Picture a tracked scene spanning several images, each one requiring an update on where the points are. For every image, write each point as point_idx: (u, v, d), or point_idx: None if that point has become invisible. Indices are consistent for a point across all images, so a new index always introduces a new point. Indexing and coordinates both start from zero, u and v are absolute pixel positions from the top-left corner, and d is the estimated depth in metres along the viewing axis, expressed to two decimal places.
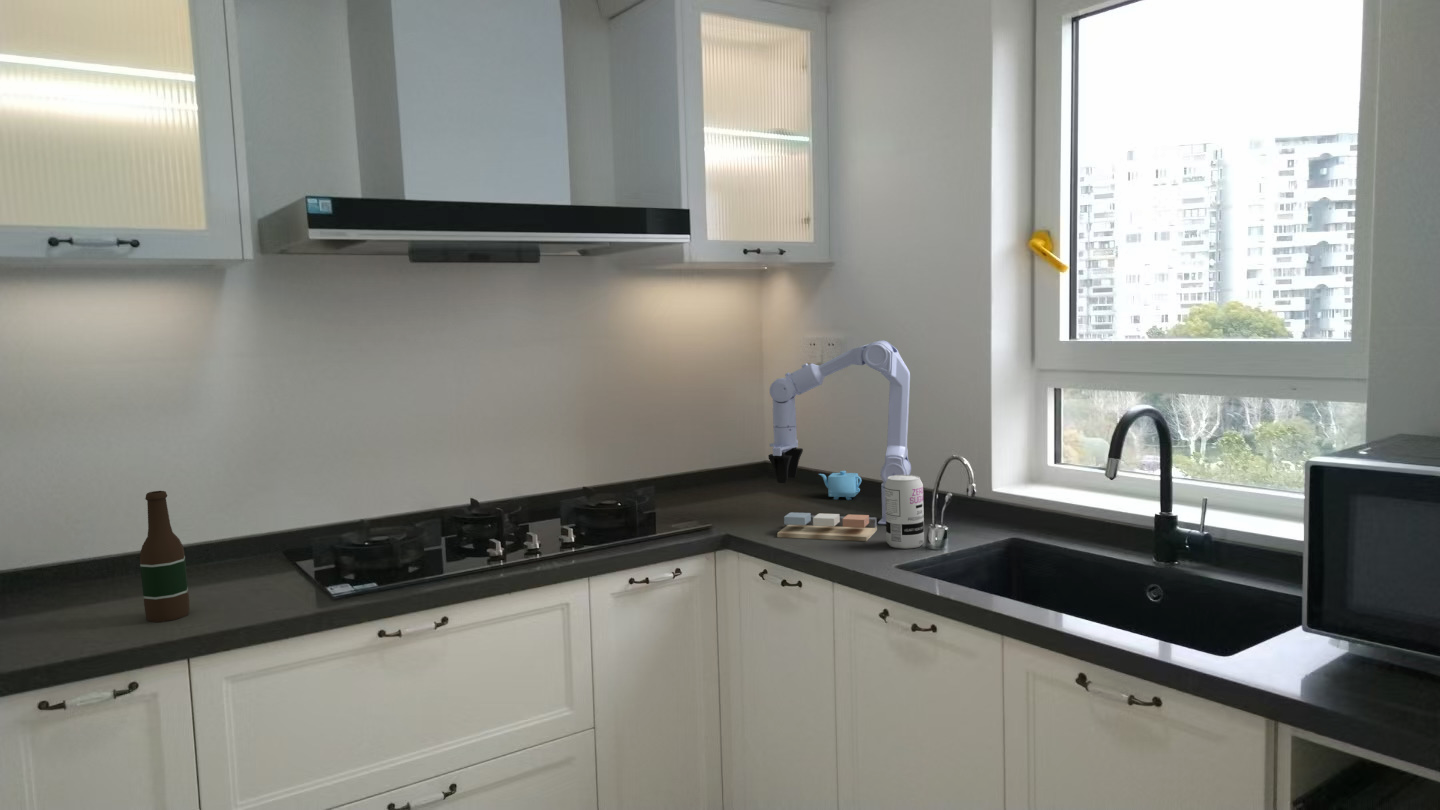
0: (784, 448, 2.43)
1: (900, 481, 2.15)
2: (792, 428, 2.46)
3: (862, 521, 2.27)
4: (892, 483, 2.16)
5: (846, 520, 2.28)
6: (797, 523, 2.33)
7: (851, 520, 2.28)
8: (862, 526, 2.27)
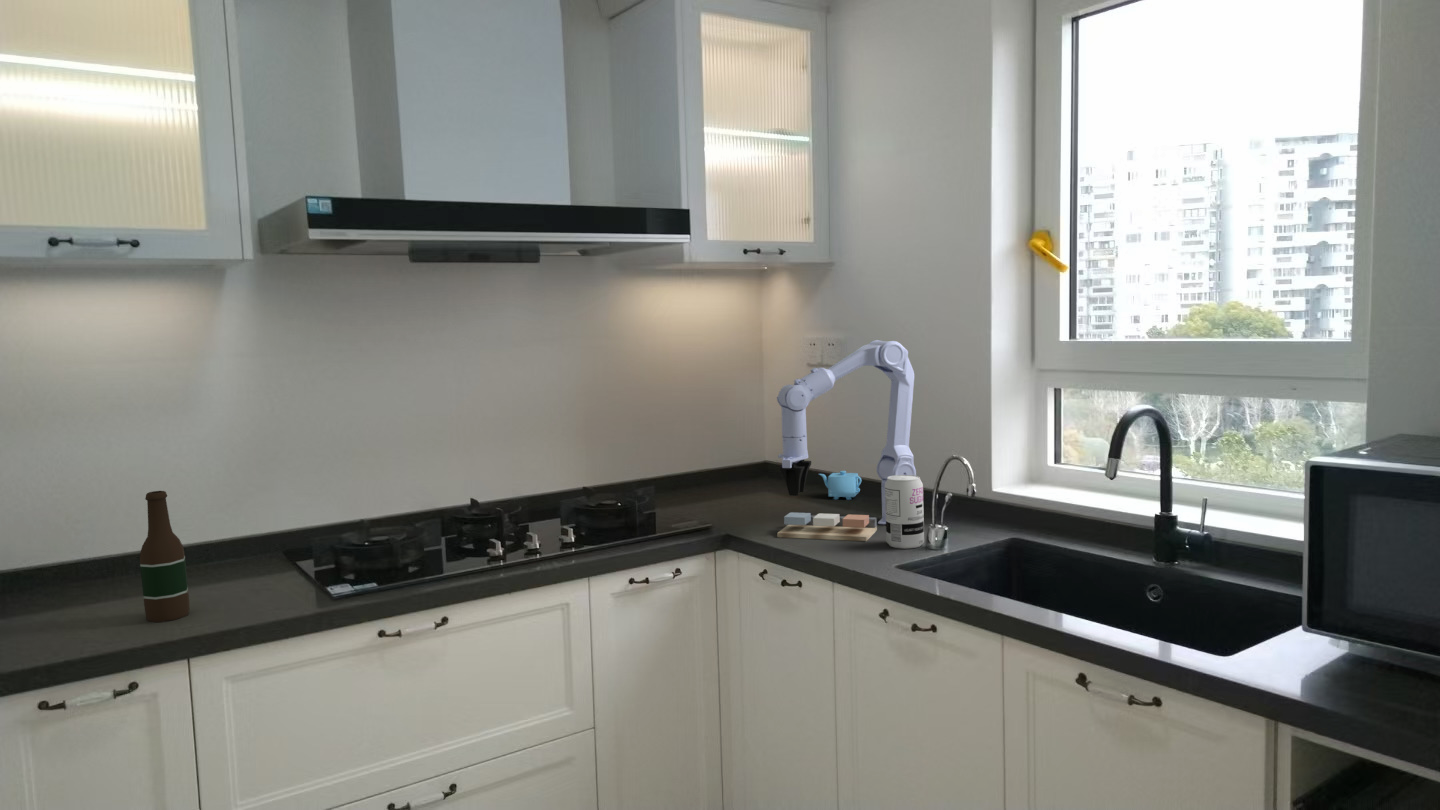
0: (794, 460, 2.28)
1: (900, 481, 2.15)
2: (802, 438, 2.31)
3: (862, 521, 2.27)
4: (891, 483, 2.16)
5: (846, 520, 2.28)
6: (797, 523, 2.33)
7: (851, 520, 2.28)
8: (862, 526, 2.27)
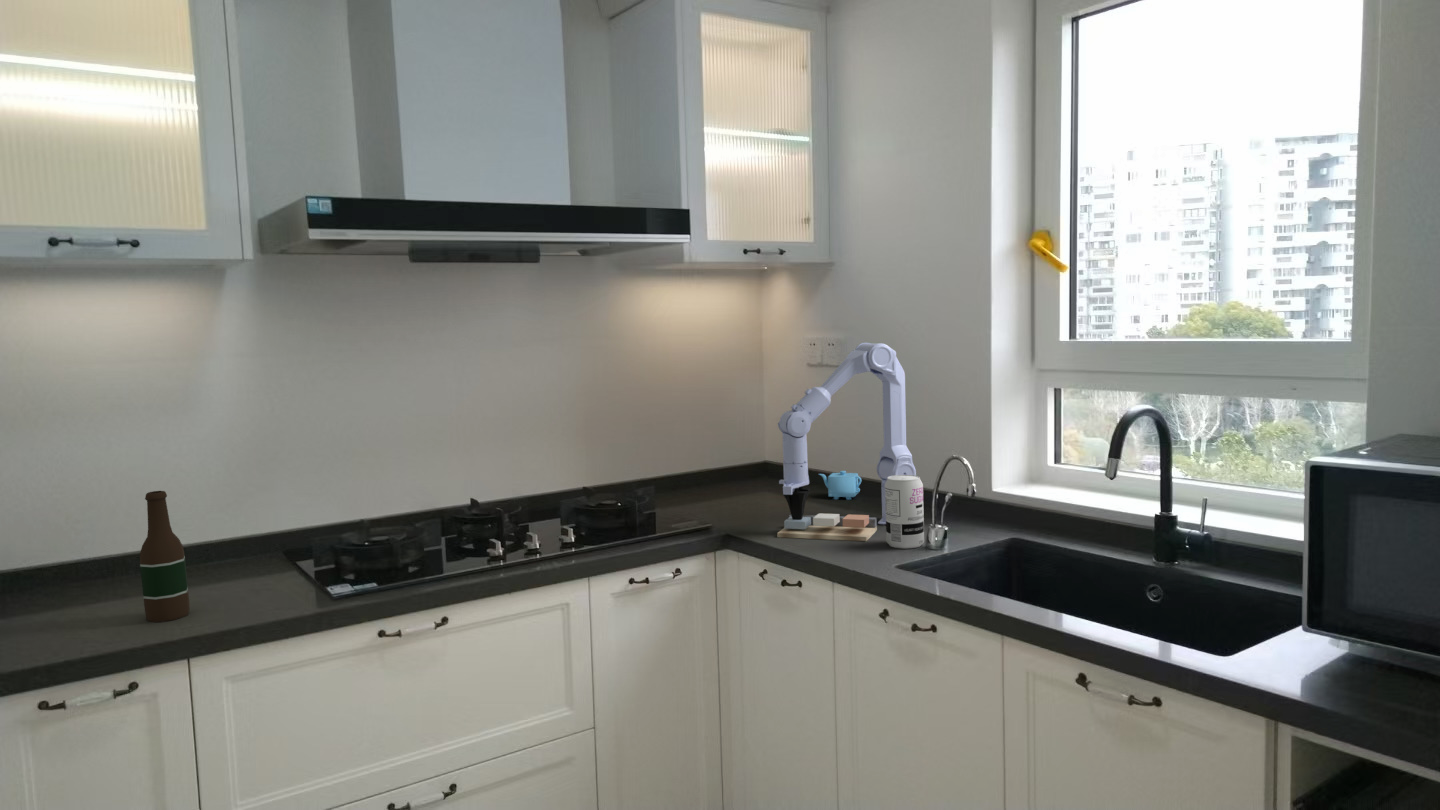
0: (795, 486, 2.29)
1: (900, 481, 2.15)
2: (803, 464, 2.31)
3: (862, 521, 2.27)
4: (892, 483, 2.16)
5: (846, 520, 2.28)
6: (797, 527, 2.33)
7: (851, 520, 2.28)
8: (862, 526, 2.27)
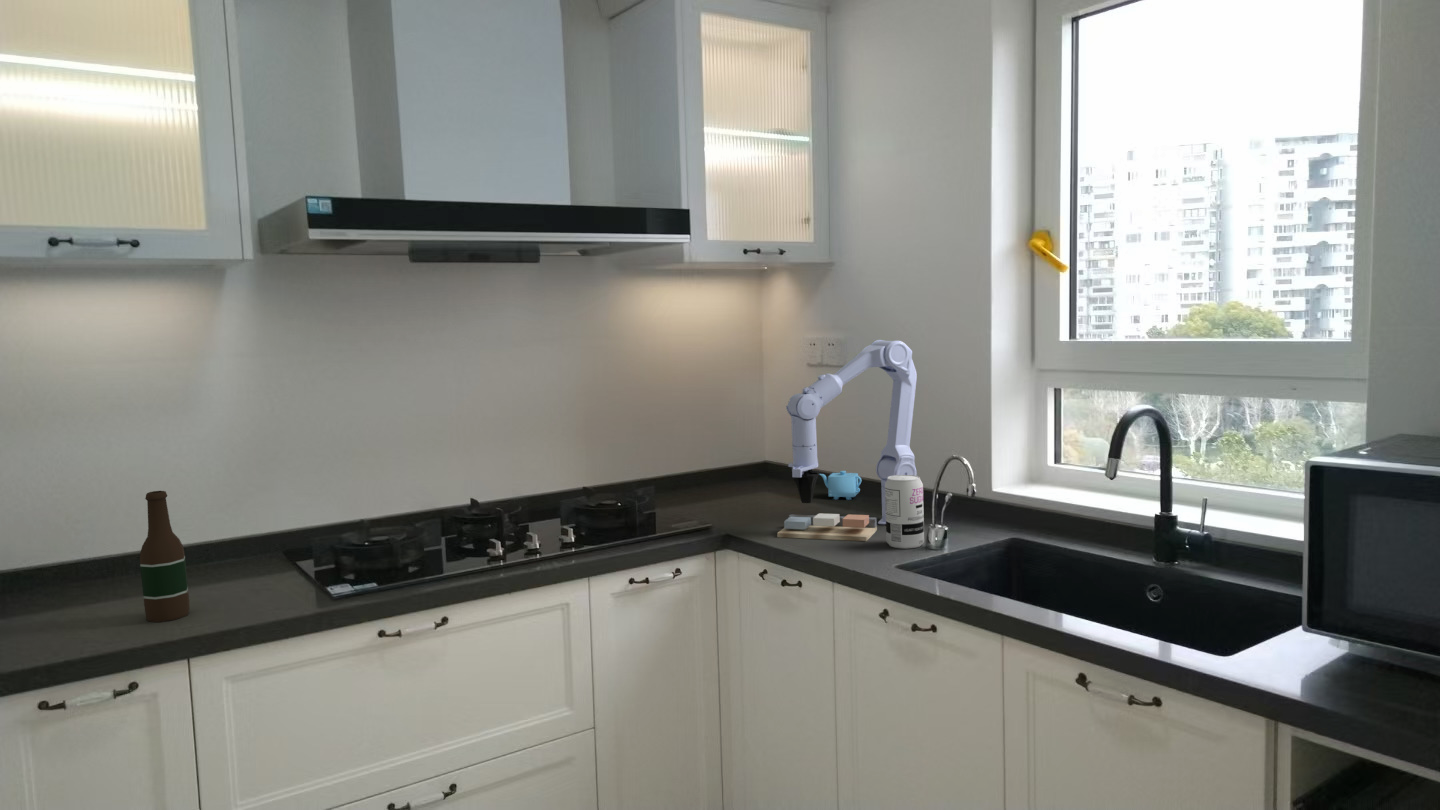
0: (804, 469, 2.28)
1: (900, 481, 2.15)
2: (812, 447, 2.30)
3: (862, 521, 2.27)
4: (892, 483, 2.16)
5: (846, 520, 2.28)
6: (797, 527, 2.33)
7: (851, 520, 2.28)
8: (862, 526, 2.27)
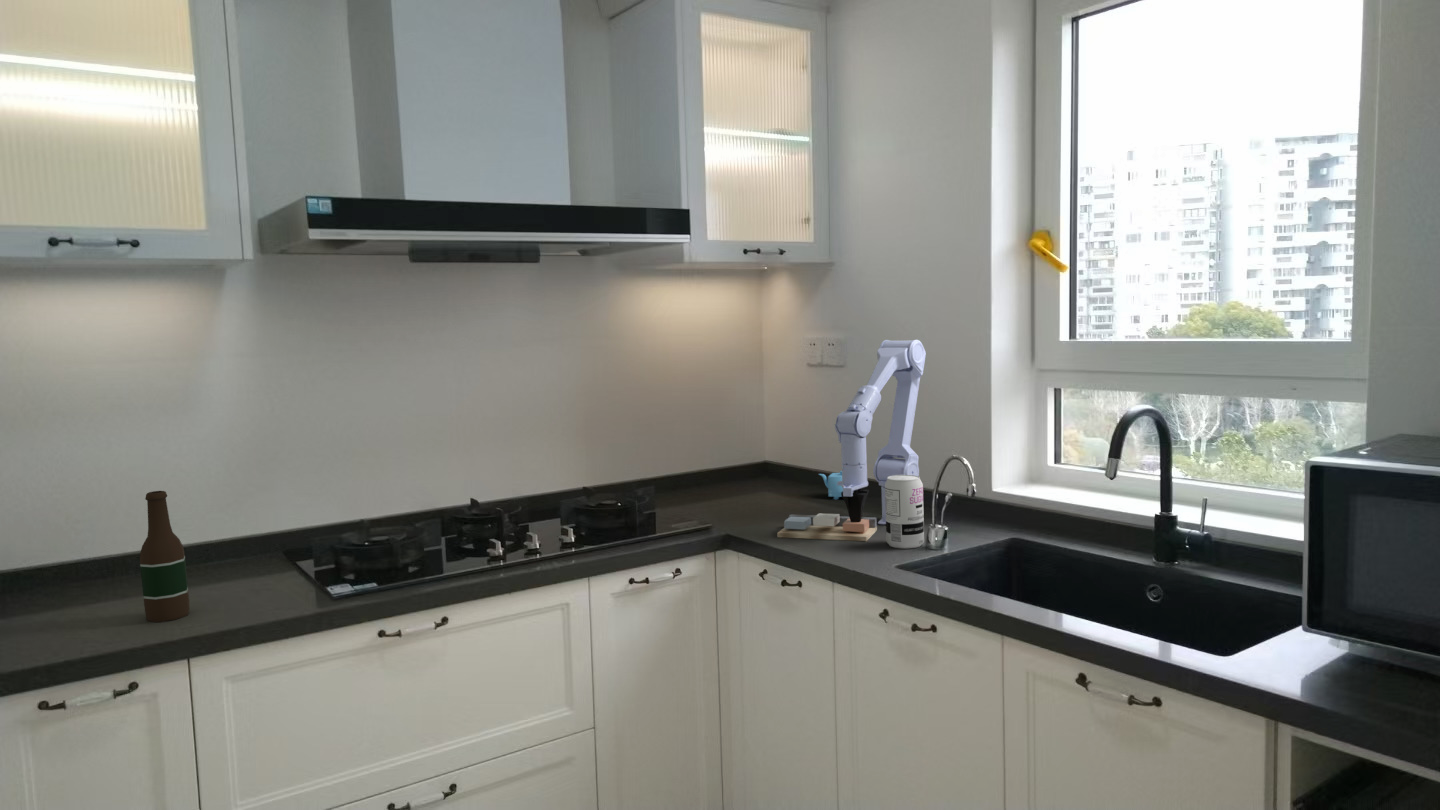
0: (855, 488, 2.24)
1: (900, 481, 2.15)
2: (863, 465, 2.26)
3: (862, 525, 2.27)
4: (891, 483, 2.16)
5: (846, 524, 2.28)
6: (797, 527, 2.33)
7: (851, 524, 2.28)
8: (862, 530, 2.27)
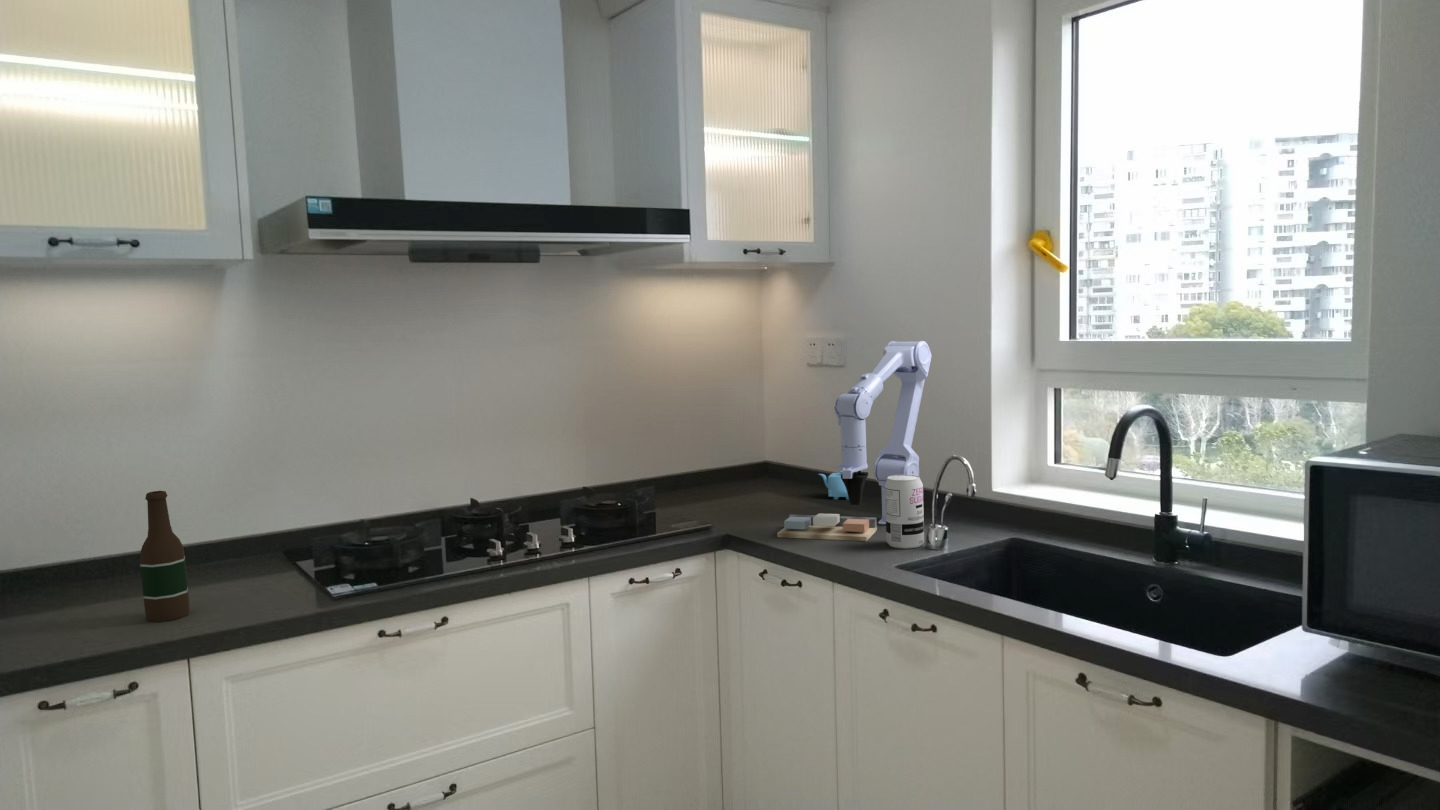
0: (854, 470, 2.23)
1: (900, 481, 2.15)
2: (862, 448, 2.26)
3: (862, 525, 2.27)
4: (891, 483, 2.16)
5: (846, 524, 2.28)
6: (797, 527, 2.33)
7: (851, 524, 2.28)
8: (862, 530, 2.27)
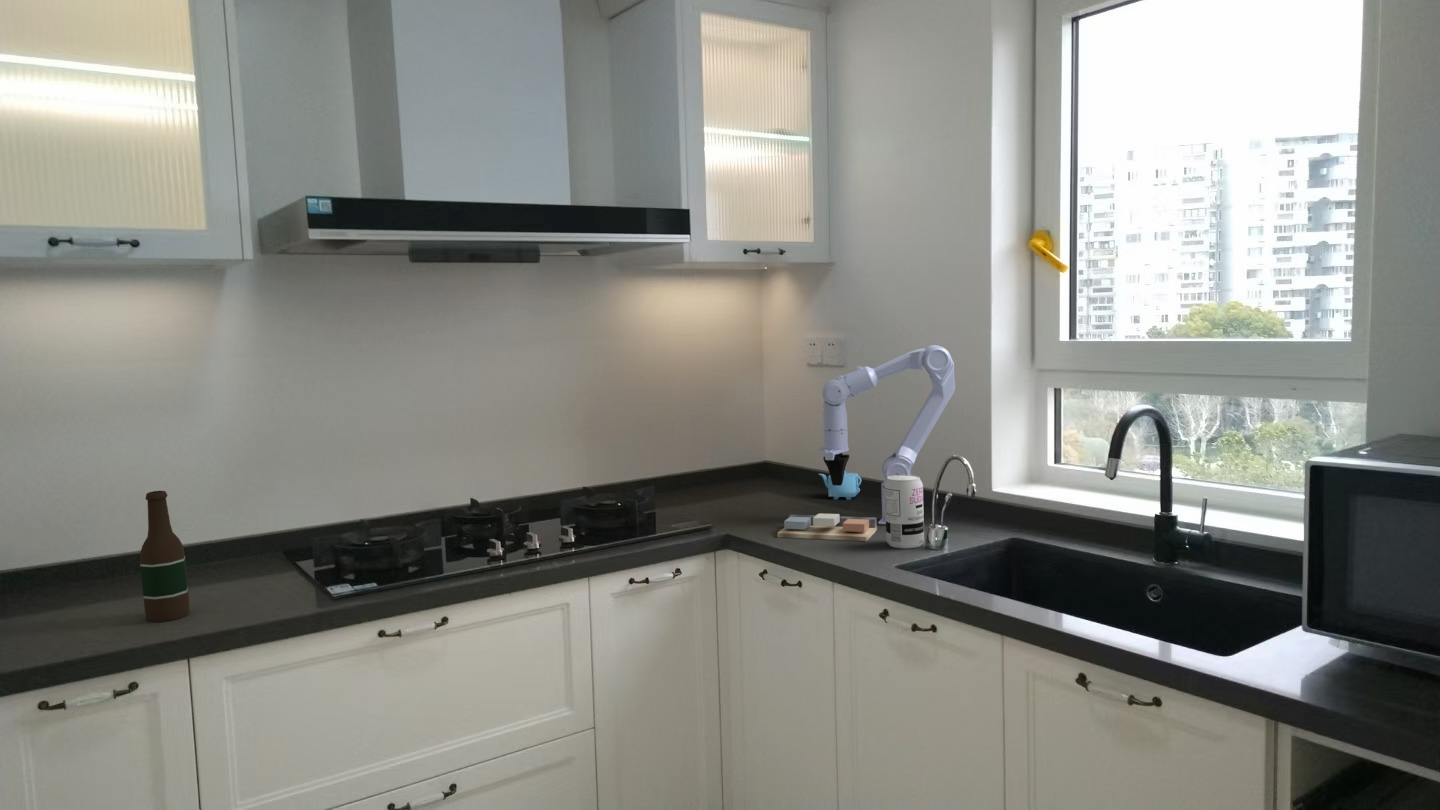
0: (836, 452, 2.37)
1: (900, 481, 2.15)
2: (844, 431, 2.40)
3: (862, 525, 2.27)
4: (891, 483, 2.16)
5: (846, 524, 2.28)
6: (797, 527, 2.33)
7: (851, 524, 2.28)
8: (862, 530, 2.27)
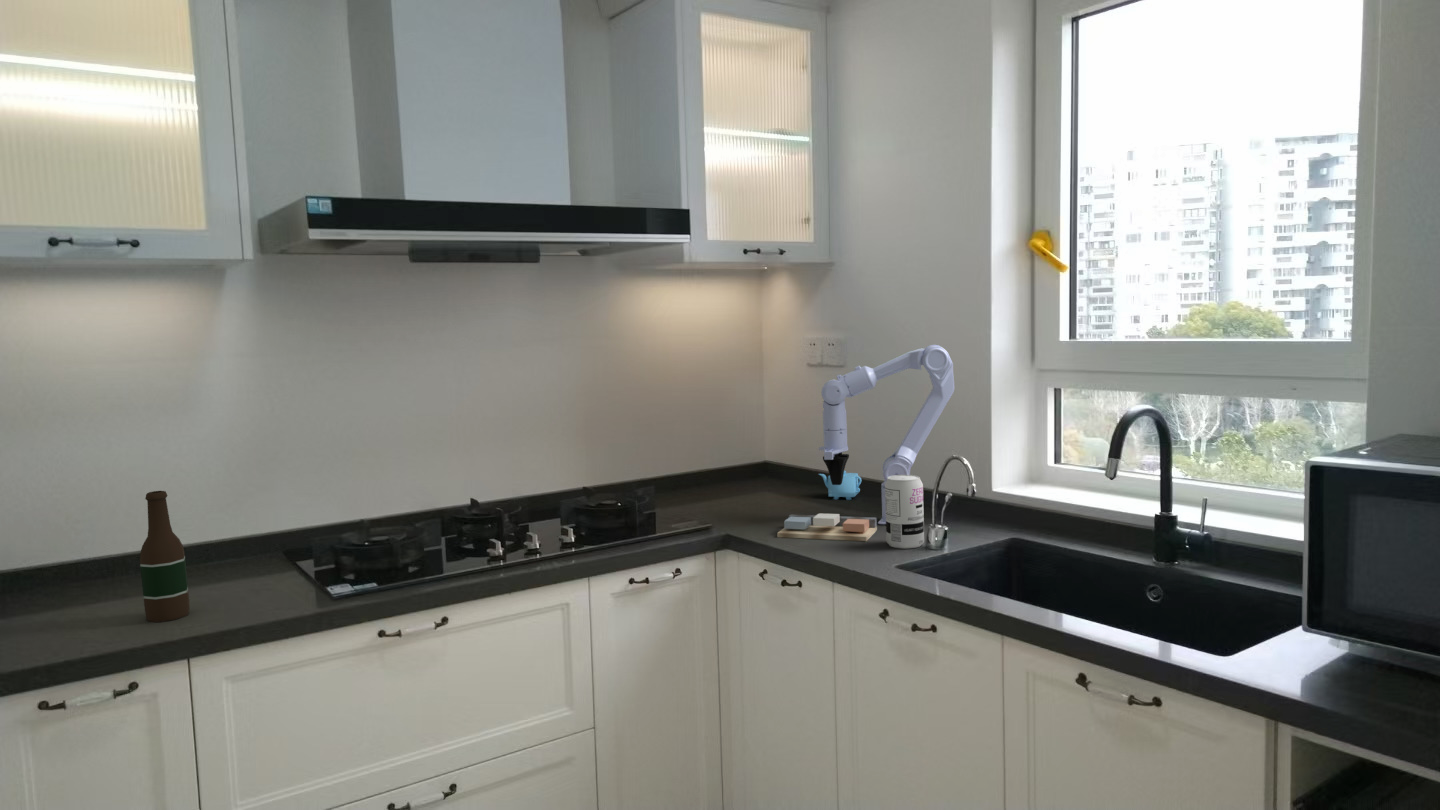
0: (835, 452, 2.37)
1: (900, 481, 2.15)
2: (843, 431, 2.40)
3: (862, 525, 2.27)
4: (892, 483, 2.16)
5: (846, 524, 2.28)
6: (797, 527, 2.33)
7: (851, 524, 2.28)
8: (862, 530, 2.27)
